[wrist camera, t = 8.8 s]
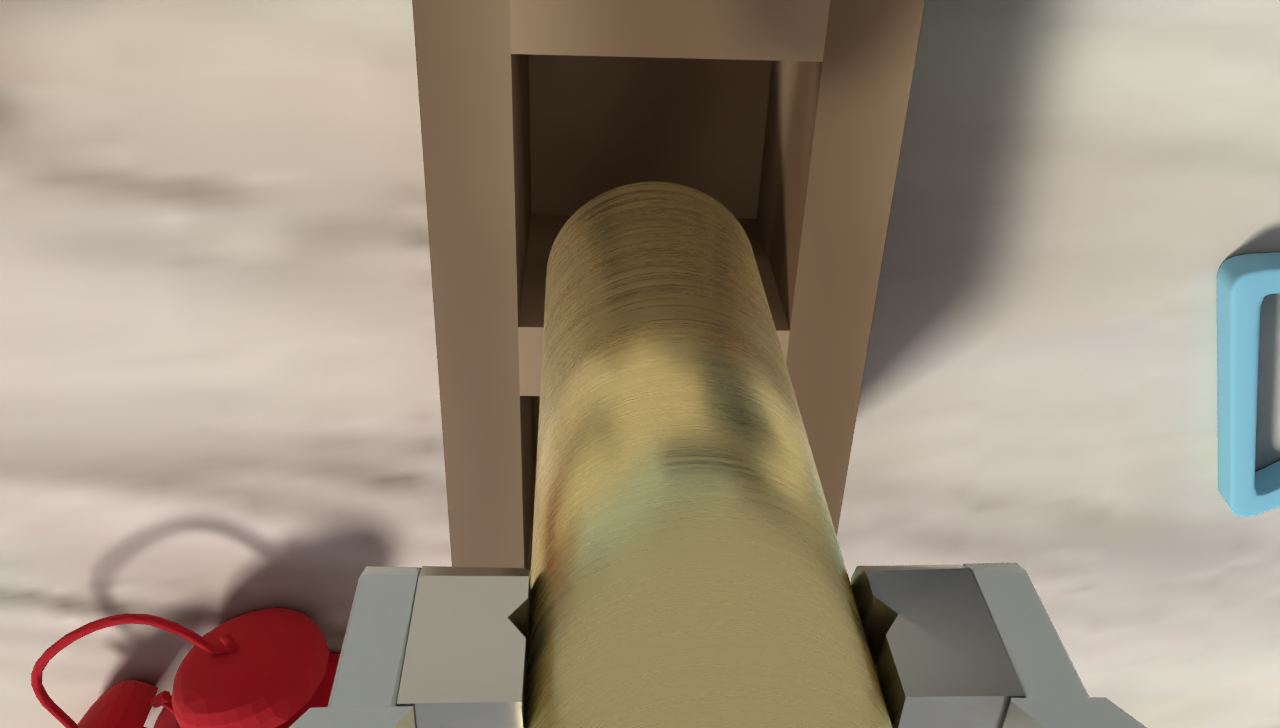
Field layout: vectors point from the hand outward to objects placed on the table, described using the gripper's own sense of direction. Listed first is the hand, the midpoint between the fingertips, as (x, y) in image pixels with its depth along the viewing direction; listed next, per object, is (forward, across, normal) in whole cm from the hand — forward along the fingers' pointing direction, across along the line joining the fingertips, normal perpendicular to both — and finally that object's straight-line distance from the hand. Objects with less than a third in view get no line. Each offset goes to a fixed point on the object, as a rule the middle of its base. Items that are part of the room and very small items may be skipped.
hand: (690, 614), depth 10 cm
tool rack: (+16, 0, -4) cm, 16 cm away
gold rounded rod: (+7, 0, 0) cm, 7 cm away
